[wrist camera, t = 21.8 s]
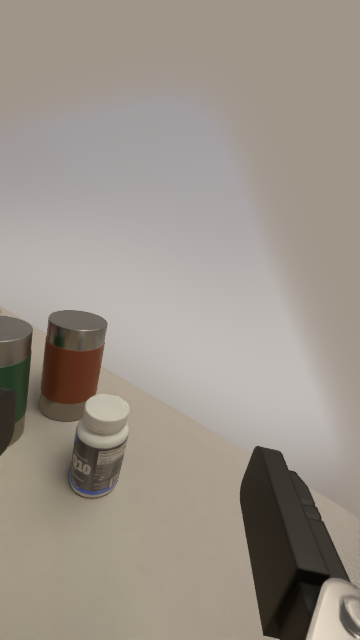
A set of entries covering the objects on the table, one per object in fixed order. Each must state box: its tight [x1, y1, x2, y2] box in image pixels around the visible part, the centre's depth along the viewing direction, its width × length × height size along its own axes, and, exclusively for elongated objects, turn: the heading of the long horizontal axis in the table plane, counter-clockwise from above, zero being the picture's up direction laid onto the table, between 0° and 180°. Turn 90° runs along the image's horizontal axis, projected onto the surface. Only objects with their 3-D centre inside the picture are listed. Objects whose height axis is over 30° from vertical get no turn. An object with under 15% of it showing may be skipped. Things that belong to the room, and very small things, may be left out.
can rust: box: [39, 310, 107, 421], centre depth 36 cm, size 7×7×12 cm
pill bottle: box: [69, 394, 130, 498], centre depth 27 cm, size 5×5×8 cm
